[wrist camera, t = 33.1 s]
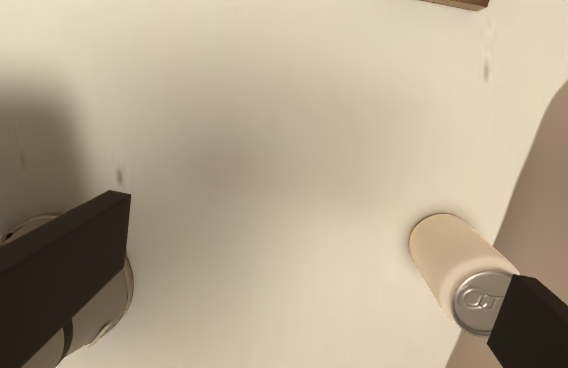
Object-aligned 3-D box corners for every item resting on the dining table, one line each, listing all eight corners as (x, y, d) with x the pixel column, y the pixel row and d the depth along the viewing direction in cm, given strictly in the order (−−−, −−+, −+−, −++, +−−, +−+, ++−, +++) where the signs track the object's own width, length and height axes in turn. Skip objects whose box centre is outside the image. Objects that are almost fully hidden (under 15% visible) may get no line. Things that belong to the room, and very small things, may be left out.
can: (419, 205, 40) (463, 255, 28) (481, 221, 40) (550, 277, 28) (399, 262, 42) (433, 330, 30) (459, 276, 41) (516, 351, 30)
